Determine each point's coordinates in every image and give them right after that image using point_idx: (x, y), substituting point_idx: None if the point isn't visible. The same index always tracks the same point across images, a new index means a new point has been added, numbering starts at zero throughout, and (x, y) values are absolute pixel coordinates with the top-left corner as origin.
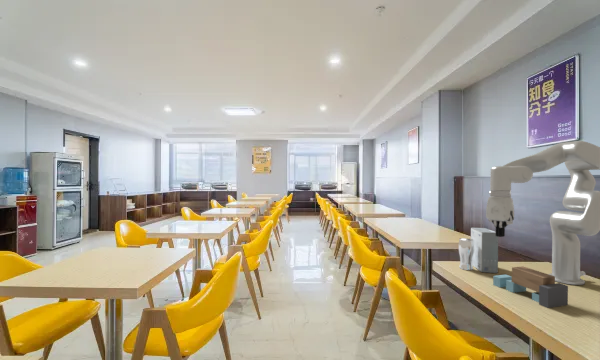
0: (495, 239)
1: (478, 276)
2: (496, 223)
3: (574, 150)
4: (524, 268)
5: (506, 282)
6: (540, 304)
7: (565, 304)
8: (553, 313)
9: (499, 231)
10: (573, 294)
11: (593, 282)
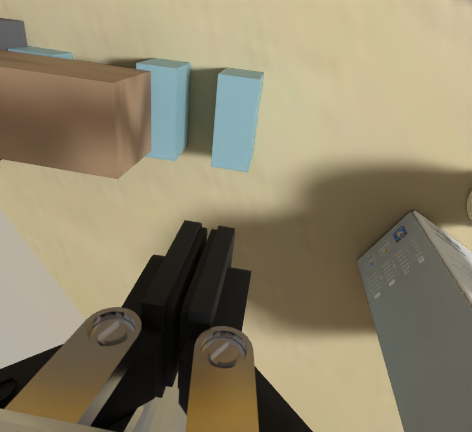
0: (417, 415)
1: (385, 132)
2: (191, 393)
3: None
4: (82, 140)
5: (179, 67)
6: (15, 20)
7: None
8: None
9: (163, 268)
10: (90, 261)
11: None
